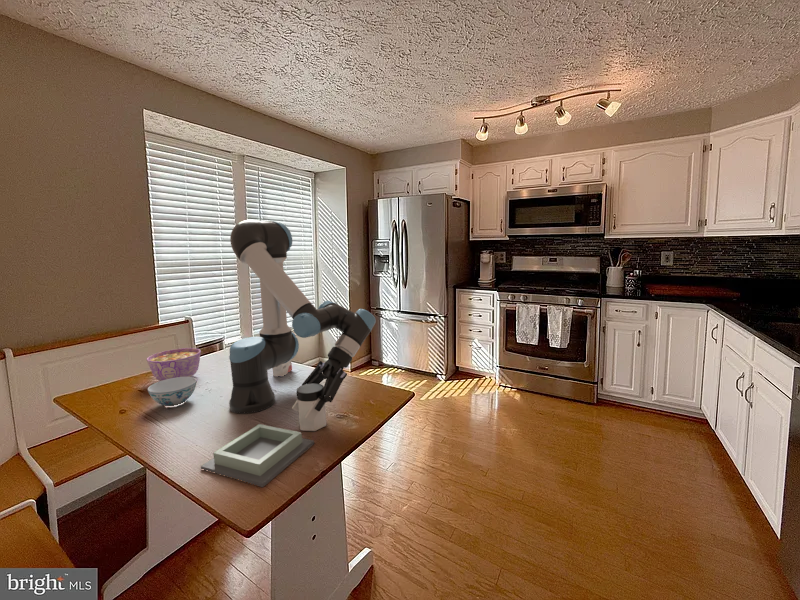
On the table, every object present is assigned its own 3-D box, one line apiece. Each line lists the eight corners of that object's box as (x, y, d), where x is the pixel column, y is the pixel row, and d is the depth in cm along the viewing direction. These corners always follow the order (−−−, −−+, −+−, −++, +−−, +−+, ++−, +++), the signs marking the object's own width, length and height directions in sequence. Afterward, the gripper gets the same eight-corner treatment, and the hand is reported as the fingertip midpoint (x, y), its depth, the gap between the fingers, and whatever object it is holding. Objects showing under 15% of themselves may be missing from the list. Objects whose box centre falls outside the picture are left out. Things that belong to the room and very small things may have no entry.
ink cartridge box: (282, 370, 168) (279, 338, 166) (292, 370, 167) (289, 338, 165) (272, 376, 160) (269, 343, 158) (282, 377, 159) (280, 343, 157)
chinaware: (141, 409, 131) (138, 388, 129) (181, 393, 144) (179, 374, 143) (167, 416, 124) (165, 394, 123) (207, 399, 138) (205, 379, 136)
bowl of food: (165, 392, 146) (161, 364, 144) (140, 383, 156) (137, 357, 155) (213, 376, 162) (210, 351, 161) (188, 369, 173) (185, 345, 171)
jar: (316, 415, 120) (314, 380, 119) (332, 423, 115) (330, 386, 113) (292, 426, 114) (289, 389, 112) (308, 434, 108) (305, 396, 107)
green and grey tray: (201, 469, 93) (199, 455, 92) (259, 432, 111) (257, 419, 111) (262, 487, 85) (261, 471, 85) (314, 443, 104) (313, 430, 103)
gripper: (369, 364, 115) (327, 431, 106) (333, 351, 130) (294, 409, 121) (354, 351, 110) (309, 420, 102) (319, 340, 125) (277, 399, 117)
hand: (301, 414), depth 112 cm, fingers closed on jar, 8 cm apart
